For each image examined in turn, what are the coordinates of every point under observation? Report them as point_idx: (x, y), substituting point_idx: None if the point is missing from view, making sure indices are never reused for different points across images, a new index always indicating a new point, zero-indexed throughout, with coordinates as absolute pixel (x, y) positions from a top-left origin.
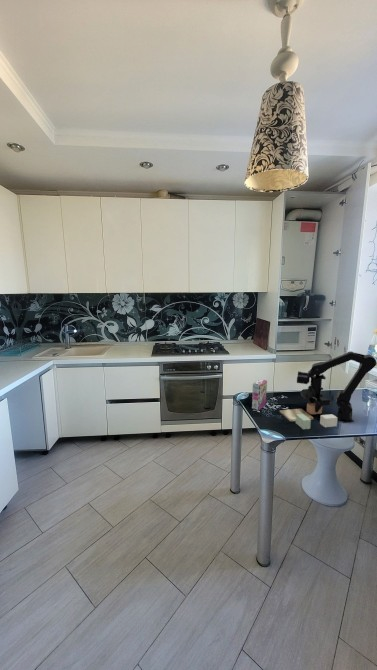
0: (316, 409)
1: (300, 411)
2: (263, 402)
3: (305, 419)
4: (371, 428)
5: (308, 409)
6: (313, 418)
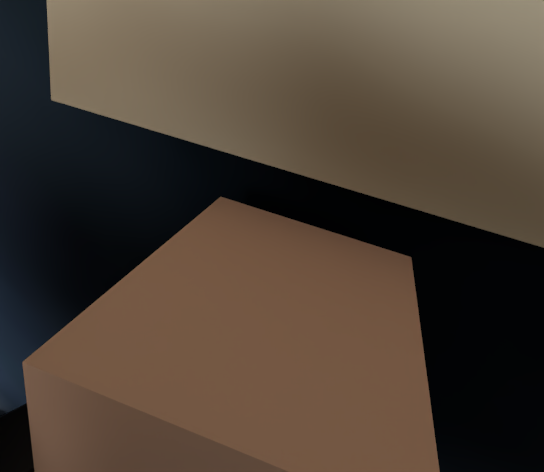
0: None
1: (537, 67)
2: None
3: None
4: None
5: (313, 281)
6: (68, 98)
